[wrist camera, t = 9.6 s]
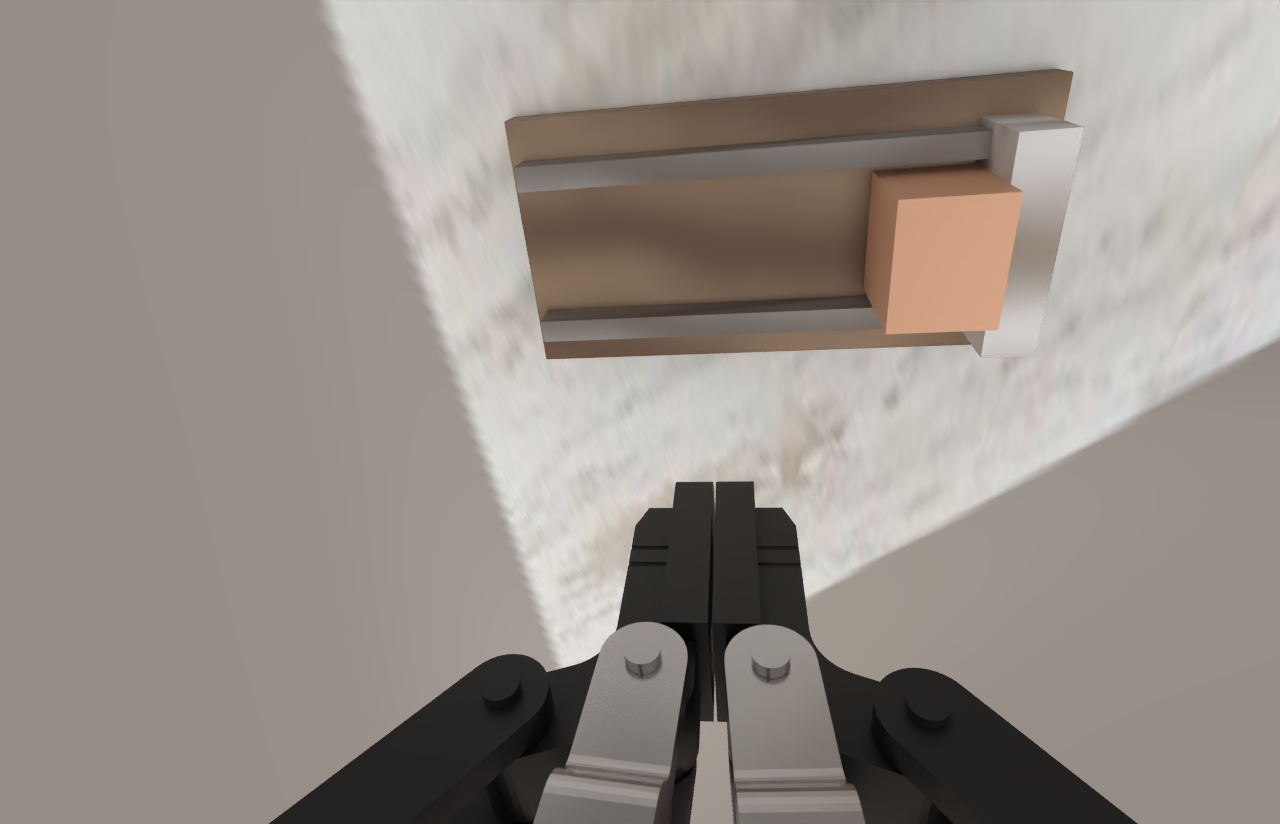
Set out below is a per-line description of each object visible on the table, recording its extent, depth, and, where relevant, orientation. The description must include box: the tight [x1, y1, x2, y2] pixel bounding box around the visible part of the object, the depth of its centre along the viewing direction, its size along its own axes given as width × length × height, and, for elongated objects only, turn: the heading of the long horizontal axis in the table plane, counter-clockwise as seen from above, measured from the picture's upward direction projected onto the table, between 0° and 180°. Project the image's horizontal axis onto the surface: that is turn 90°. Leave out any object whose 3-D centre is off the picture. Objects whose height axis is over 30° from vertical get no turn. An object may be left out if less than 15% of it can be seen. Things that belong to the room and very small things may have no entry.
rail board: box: [505, 69, 1084, 359], centre depth 28 cm, size 11×22×6 cm, turn 95°
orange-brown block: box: [863, 163, 1023, 334], centre depth 26 cm, size 5×4×5 cm
